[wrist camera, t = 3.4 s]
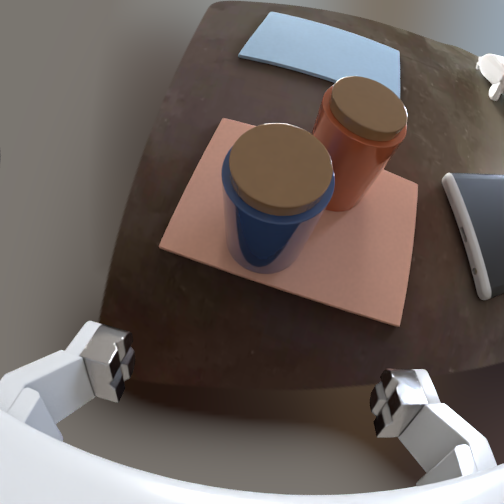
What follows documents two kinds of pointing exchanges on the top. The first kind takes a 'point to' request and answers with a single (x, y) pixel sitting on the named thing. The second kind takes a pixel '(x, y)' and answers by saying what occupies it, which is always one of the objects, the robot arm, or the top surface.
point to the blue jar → (274, 195)
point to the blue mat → (322, 51)
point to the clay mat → (310, 240)
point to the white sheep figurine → (493, 73)
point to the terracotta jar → (358, 135)
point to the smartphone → (480, 226)
